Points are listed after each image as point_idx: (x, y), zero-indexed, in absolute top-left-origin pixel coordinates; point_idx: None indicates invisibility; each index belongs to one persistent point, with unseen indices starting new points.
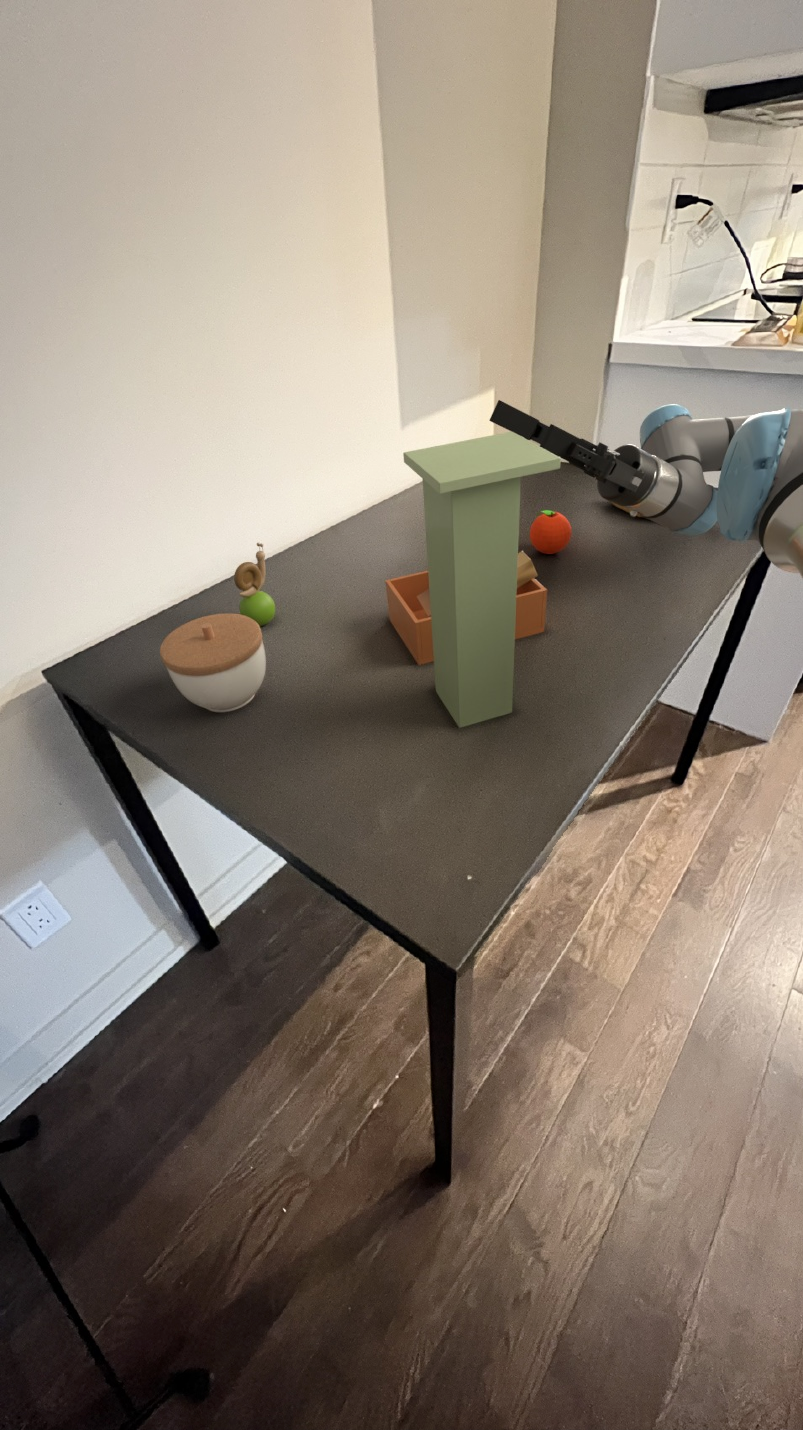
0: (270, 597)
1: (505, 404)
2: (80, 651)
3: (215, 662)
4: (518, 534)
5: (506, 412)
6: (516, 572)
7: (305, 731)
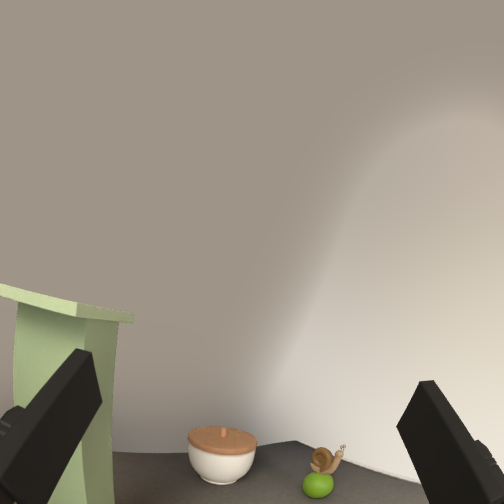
0: (321, 484)
1: (426, 396)
2: (309, 445)
3: (190, 432)
4: (13, 364)
5: (422, 420)
6: (14, 404)
7: (148, 484)
